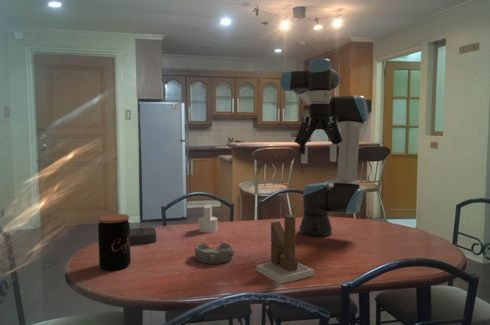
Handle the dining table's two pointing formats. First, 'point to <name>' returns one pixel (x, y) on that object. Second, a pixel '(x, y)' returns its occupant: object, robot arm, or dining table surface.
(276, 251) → the wooden block
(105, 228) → the coffee jar
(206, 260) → the dish
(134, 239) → the streaming box
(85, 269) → the dining table surface
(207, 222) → the base with upright slab
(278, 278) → the stand
